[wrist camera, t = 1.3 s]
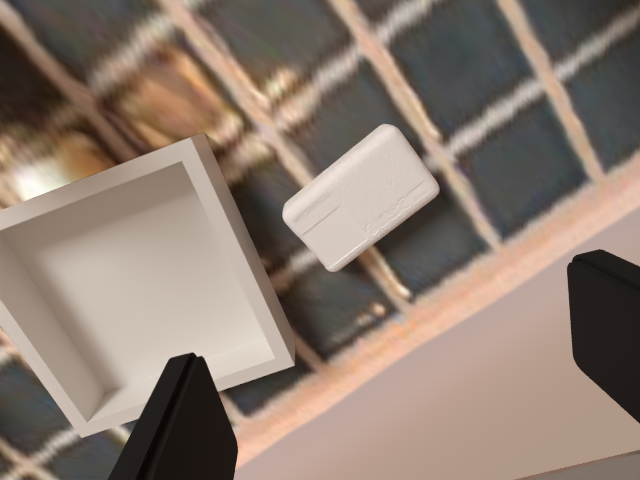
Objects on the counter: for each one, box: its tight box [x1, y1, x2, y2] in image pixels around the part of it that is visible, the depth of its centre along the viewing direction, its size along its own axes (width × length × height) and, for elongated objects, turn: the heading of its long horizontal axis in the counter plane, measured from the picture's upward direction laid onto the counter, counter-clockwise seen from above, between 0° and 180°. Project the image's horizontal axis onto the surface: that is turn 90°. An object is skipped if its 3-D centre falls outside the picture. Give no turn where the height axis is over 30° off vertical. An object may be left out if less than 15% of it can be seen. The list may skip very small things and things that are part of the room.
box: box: [0, 133, 295, 438], centre depth 28 cm, size 16×16×4 cm
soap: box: [282, 124, 439, 272], centre depth 27 cm, size 9×6×3 cm, turn 129°
